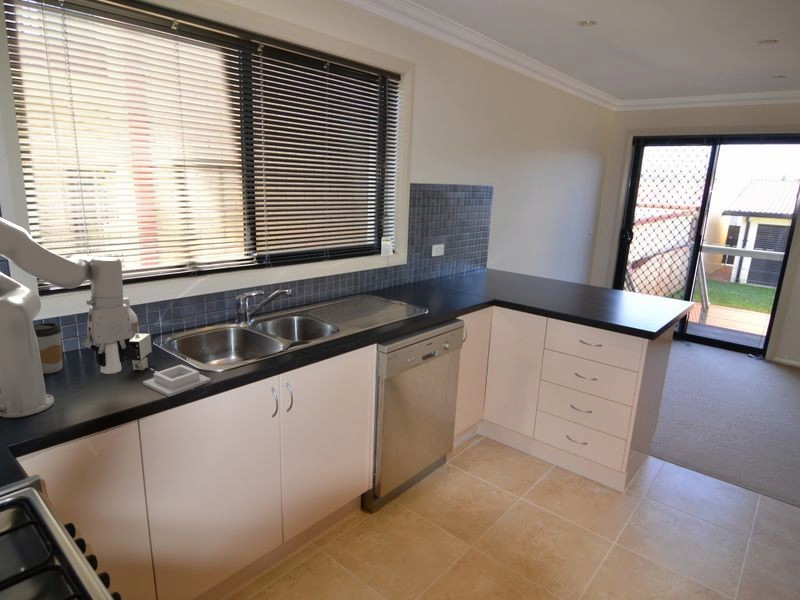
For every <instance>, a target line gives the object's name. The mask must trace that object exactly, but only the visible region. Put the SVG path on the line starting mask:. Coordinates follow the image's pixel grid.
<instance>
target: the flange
mask: <svg viewBox="0 0 800 600" xmlns="http://www.w3.org/2000/svg"><path fill="white" fill-rule="evenodd" d="M211 380H212V379H211V378H210V377H209V376H208V377H207V376H205V375H203V374H201V373H200V371H199V370H196V369H194V368H192V367H189V366H186V365H185V364H184V365H183V364H178V365H175V366H172V367H169V368H165V369H164V370H160V371H156V372H154V373H153V377H152V378H149V379H145V380H143V381H142V385H144V386H146V387H147V388H149V389H152V390H153V391H156V392H158V393H160V394H163V396H167V397H169V398H171V397H172V396H176V395H179V394H180V393H185V392H186V391H189V390H191V389H194V388H196V387H200V386H202V385H206V384H208V383H210V382H211Z"/></svg>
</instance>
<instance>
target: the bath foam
mask: <svg viewBox="0 0 800 600" xmlns="http://www.w3.org/2000/svg"><path fill="white" fill-rule="evenodd" d="M130 303H131V302H130V297H127V296H125V297H123V304H126V305H127V308H128V312H129V316H130V322H131V330H132V331H133V332H134V333H135V334H136V333H140V327H139V325H140V324H139V319H138V318H139V317H138V316H137V314H136V313H135V311H133V309H132V308H131V304H130Z"/></svg>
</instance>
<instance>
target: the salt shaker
mask: <svg viewBox="0 0 800 600" xmlns="http://www.w3.org/2000/svg"><path fill="white" fill-rule="evenodd" d="M103 352H104V353H105V357H106V366H104V367H102V366H101V365H100V373H101V374H105V375H110V374H116V373H118V372H121V371H122V362H120V358H119V350H118V344H117V341H116V342H111V343H106V344H104V349H103Z"/></svg>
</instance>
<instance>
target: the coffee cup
mask: <svg viewBox="0 0 800 600" xmlns="http://www.w3.org/2000/svg"><path fill="white" fill-rule="evenodd" d="M33 327H34V330H35V333H36V336H37V341H38V346H39V352H40V358H41V364H42V371H43V375H44V374H45V375H46V374H53V373H57V372H60V371H62V369H63V366H64V365H63V348H62V347H63V346H62V336H61V335H62V333H61V332H62V330H61V327H60V326H59V324H58V323H56V322H42V323H38V324H37V323H36V324H33Z"/></svg>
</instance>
